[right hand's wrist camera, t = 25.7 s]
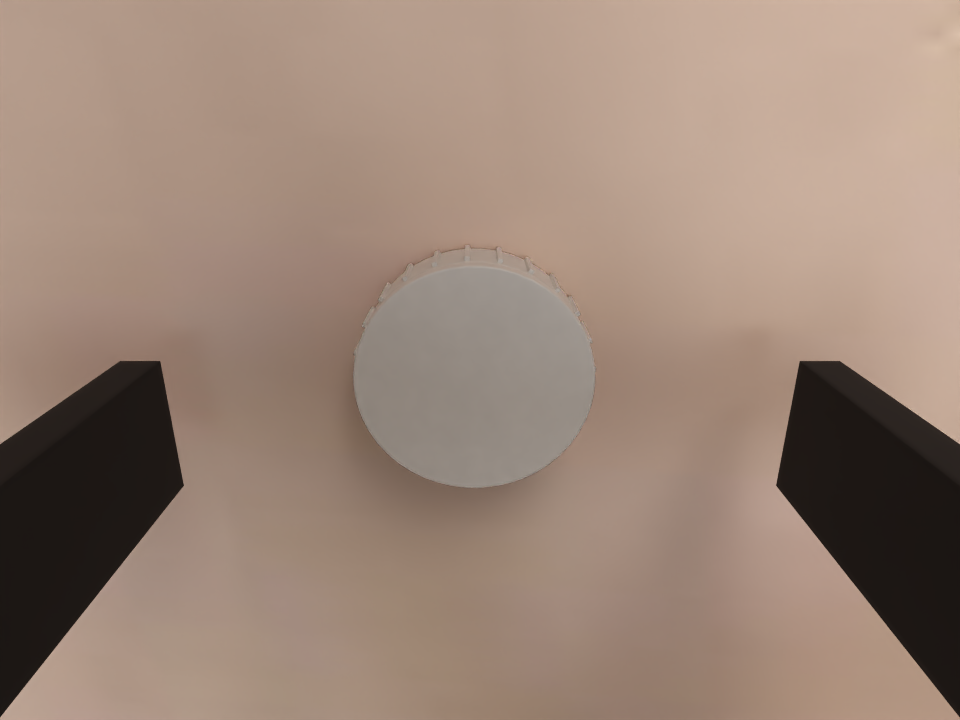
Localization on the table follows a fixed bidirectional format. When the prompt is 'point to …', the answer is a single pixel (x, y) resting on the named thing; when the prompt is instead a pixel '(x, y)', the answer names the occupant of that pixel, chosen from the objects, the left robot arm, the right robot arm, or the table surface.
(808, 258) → the table surface
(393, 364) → the lid
